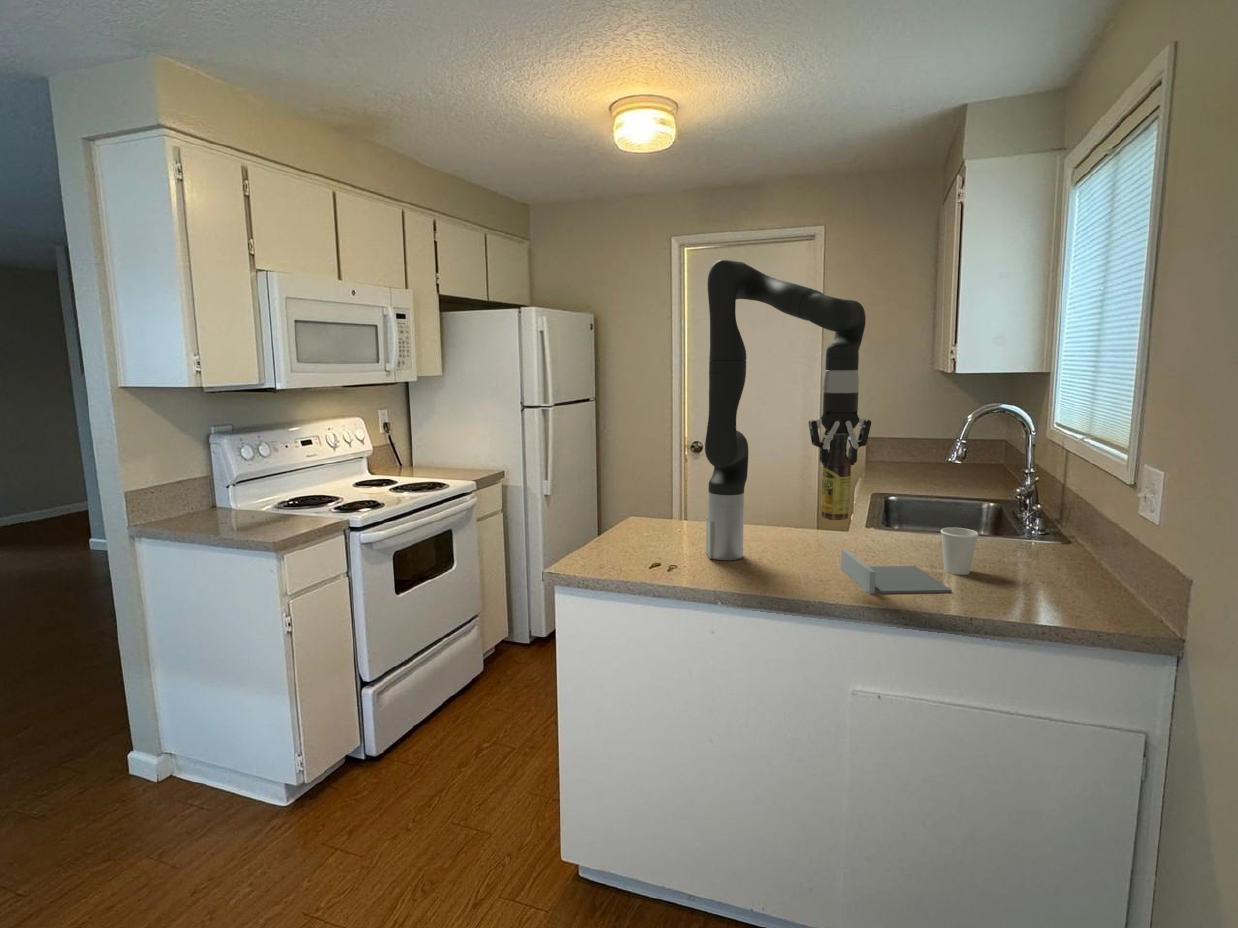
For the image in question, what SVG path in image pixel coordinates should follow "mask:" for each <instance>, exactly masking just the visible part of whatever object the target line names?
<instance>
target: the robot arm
mask: <svg viewBox="0 0 1238 928" xmlns="http://www.w3.org/2000/svg"><path fill="white" fill-rule="evenodd" d="M707 295H708V296H707V297H708V309H709V357H708V359H709V363H708V364H709V365H708V380H709V381H708V383H709V385H708V420H707V426H706V435H705V442H704V451H705V456H706V458H707V459H706V460H707V461H708V463H710V464H711V465H712V466H713V472H712V475H711V478H710V479H709V481H708V497H707V500H708V501H707V502H708V503H707V504H708V507H707V518H706V521H705V522H706V523H705V524H706V525H705V526H706V527H705V529H706V531H705V532H706V534H705V538H706V539H705V553H706V555H707V557H708V558H709V559H710V560H719V561H736V560H739V559H742V558H743V556H744V516H745V515H744V513H745V512H744V510H745V508H744V507H745V485H746V483H747V479H748V468H749V444H748V440H747V438H746V436H745V435H744V434H743V433H742V432H741V431H739V430H737V415H738V414H737V413H738V408H739V405H740V400H741V398H742V395H743V391H744V388H745V384H746V377H747V350H746V346H745V343H744V341H743V337H742V335H741V331H740V330H739V326H738V323H737V318H736V307H737V305H736V303H737V302H736V300H749V301H755V302H760V303H764V304H767V305H769V306H771V307H773V308H774V309H776V310H778V311H780V312H782V313H783V314H786V315H789V316H791V317H794V318H797V319H800V320H803V321H808V322H811V323H812V324H814V325H815V326H818V327H820V328H822V329H825V330H827V331H830V332H835V333H834V338H833V342H832V343H831V344H830V345H828V346H827V348H826V350H825V351H826V352H825V366H824V367H825V368H824V369H825V372H824V377H823V386H822V389H823V392H822V393H823V394H822V395H823V396H822V397H823V398H822V414H821V417H820V418H819V419H809V420H808V422H807V423H808V427H809V428H808V430H809V434H810V439H811V440H810V441H811V445H812V446H815V447H817V448H818V449H819V462H820V463H821V464H822V466H823V465H824V466H826V465H827V463H828V453H829V449H828V448H829V447H830V442H831V440H832V439H833V435H834V434H841V433H847V434H848V440H847V444H849V445H848V446H849V448H848V452H847V453H848V454H847V456H848V458H849V460H850V462H851V466H855V464H856V463H857V461H858V450H859V448H861V447H865V446H867V443H868V438H869V435H870V432H871V431H870V430H871V426H872V421H871V420H870V419H867V418H864V419H863V418H860V417H859V414H858V412H859V411H858V410H859V392H860V391H859V390H860V388H859V387H860V379H859V377H860V376H859V364H860V363H859V358H860V355H859V354H860V353H859V351H860V347H861V344H862V340H863V338H864V337H863V336H864V332H865V327H866V320H867V319H866V311H865V308H864V306H863V305H862V304H861V303H860V302H859V301H857V300H854V299H845V298H843V299H842V298H837V297H833V296H831V295H830V296H829V295H826V294H824V293H823V292H822V291H819V290H817V289H814V288H811V287H807V286H803V285H801V284H796V283H793V282H789V281H785V280H781V279H778V278H775V277H771V276H770V275H767V274H765V273H763V272H761V271H760V270H758V269H756V268H754V267H753V266H750V265H749V264H746V263H745V262H742V261H739V260H738V261H737V260H729V259H720V260H717V261H716V262H715V263H713V264H712V266H711V268H710V270H709V272H708V275H707ZM821 425H822V427H824V429H825V430H824V432H823V434H822V438H820V434H819V430H820V429H821V428H820V427H821ZM857 426H858V428H859V432H858V433H859V434H858V439H857V436H856V433H855V430H854V429H855V428H856V427H857ZM820 440H821V441H820Z"/></svg>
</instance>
